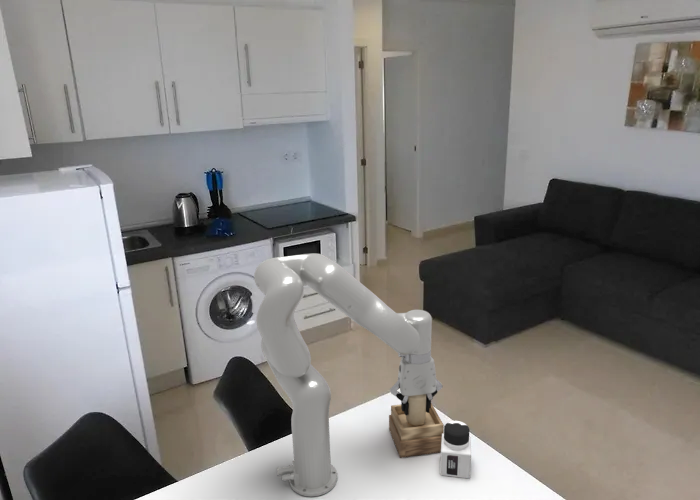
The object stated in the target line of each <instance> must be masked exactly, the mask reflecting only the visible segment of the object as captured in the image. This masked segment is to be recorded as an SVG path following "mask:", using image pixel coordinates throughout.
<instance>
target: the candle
mask: <svg viewBox="0 0 700 500" xmlns="http://www.w3.org/2000/svg"><path fill="white" fill-rule="evenodd" d="M407 402H408V415H406V420H407V422H408V423H409V424H411V425H415V426H418V425H422V424H424V423H425V420H426V394H423V395H414V396H409V397H408V399H407Z"/></svg>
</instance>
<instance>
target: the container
mask: <svg viewBox="0 0 700 500" xmlns="http://www.w3.org/2000/svg"><path fill="white" fill-rule="evenodd" d="M470 431H471V430H470V427H469V425H468V424H466V423H465V422H463V421H459V420H449V422H447V423H445V425H444V432H443V434H442V440H441V452H440V465H439V466H440V467H439V472H440V473H439V474H440V476H445V477H453V478H460V479H461V478H462V479H470V478H471V470H472V469H471V468H472V437H471V435H470Z"/></svg>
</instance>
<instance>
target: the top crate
mask: <svg viewBox="0 0 700 500" xmlns="http://www.w3.org/2000/svg"><path fill="white" fill-rule="evenodd" d="M390 415H391V417H392V419H393V422H394V424H395V427H396V429H397V431H398V434H399V436H400V439H401V441H409V440H416V439H423V438H431V437H438V436H442V434H443V433H444V426H445V425H444V423H443V421H442V419H441V418H440V416H439V414H438V413H437V410H436V409H435V406H434V405H433V403H432V402H431V408H429V413H427V412H426V420H425V423H424V424H422V425H418V426H415V425H411V424H409V423H408V422H407V420H406V415H405V413H404V411H402V409H401V403H400V404H393V405H392V404H391V405H390Z"/></svg>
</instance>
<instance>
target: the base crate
mask: <svg viewBox="0 0 700 500" xmlns="http://www.w3.org/2000/svg"><path fill="white" fill-rule="evenodd" d="M388 430H389V432H390V436H391V438H392V440H393V443H394V446H395V448H396V451H397V454H398V457H399V459H403V458H409V457H418V456H424V455H431V454H439V453H440V454H441V440H442V436H438V437H431V438H423V439H416V440H409V441H401V439H400V436H399V434H398V431H397V429H396V427H395V424H394V422H393V419H392V417H391V414H388Z"/></svg>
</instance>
